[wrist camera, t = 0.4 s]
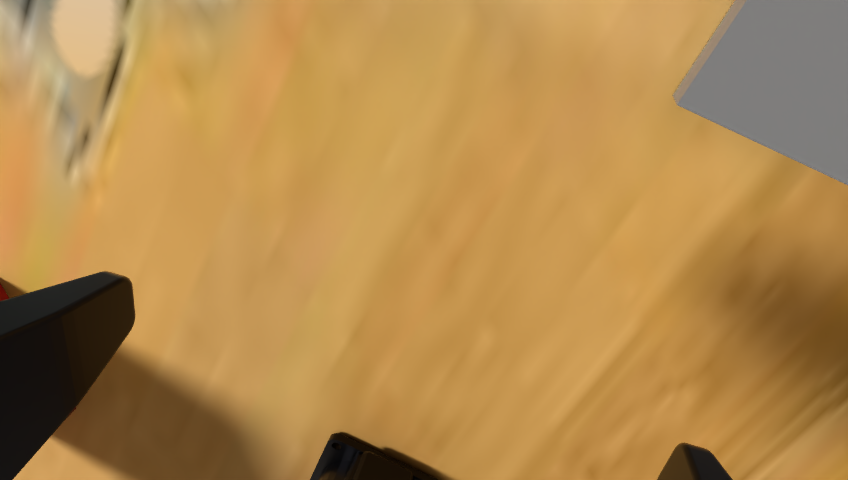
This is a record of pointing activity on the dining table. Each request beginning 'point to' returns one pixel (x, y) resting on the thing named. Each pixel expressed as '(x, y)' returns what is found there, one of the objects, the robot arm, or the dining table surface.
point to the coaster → (778, 79)
